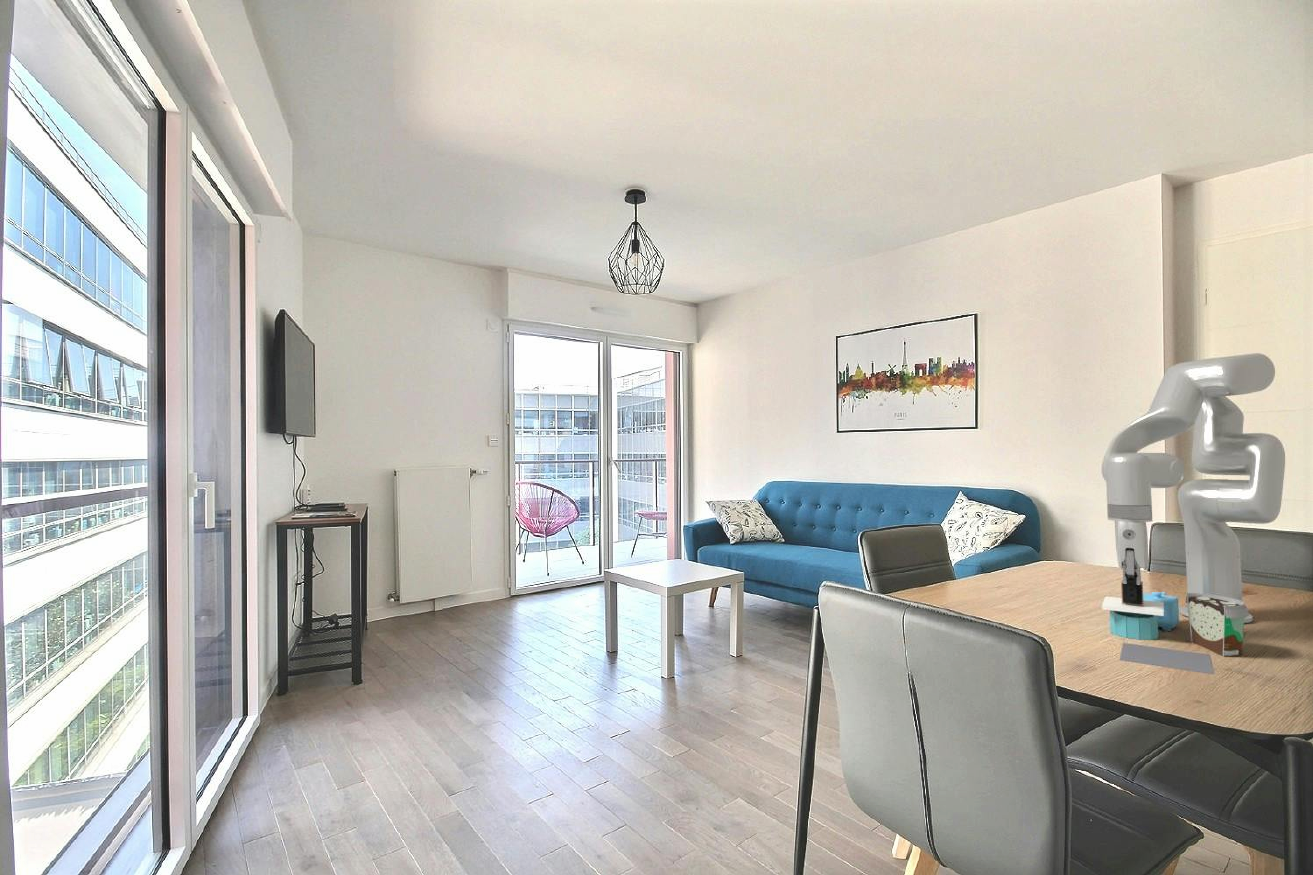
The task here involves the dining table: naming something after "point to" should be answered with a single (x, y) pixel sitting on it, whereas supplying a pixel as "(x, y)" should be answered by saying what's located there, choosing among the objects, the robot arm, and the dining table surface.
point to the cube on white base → (1133, 605)
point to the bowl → (1134, 625)
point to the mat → (1167, 658)
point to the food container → (1217, 623)
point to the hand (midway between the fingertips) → (1133, 600)
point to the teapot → (1165, 609)
